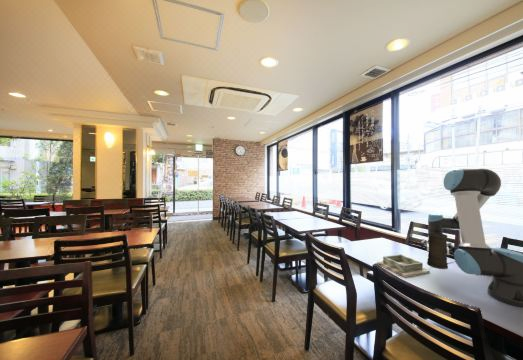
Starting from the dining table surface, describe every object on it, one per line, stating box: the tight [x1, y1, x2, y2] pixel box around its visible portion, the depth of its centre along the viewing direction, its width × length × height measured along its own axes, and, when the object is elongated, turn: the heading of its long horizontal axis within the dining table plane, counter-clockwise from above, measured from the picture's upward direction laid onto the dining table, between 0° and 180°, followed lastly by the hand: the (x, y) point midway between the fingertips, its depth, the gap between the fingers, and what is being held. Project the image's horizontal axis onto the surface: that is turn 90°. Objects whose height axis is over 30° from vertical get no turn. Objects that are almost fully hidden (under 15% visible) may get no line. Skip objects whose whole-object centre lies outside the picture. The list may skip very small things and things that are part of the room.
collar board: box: [376, 253, 431, 278], centre depth 136 cm, size 20×20×6 cm
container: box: [426, 232, 449, 270], centre depth 118 cm, size 9×9×18 cm
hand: (437, 250), depth 115 cm, fingers closed on container, 8 cm apart
